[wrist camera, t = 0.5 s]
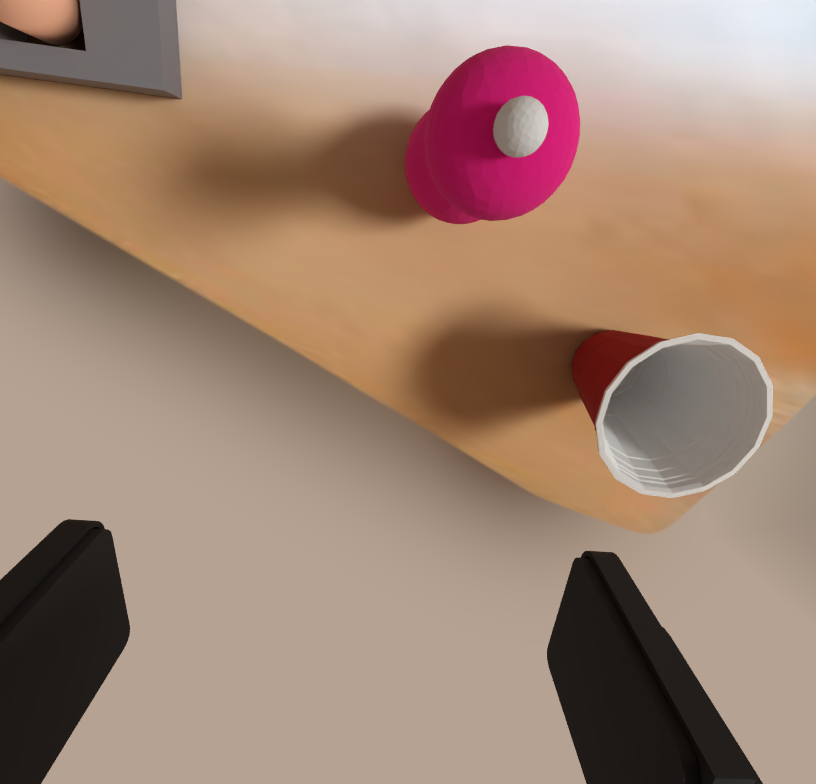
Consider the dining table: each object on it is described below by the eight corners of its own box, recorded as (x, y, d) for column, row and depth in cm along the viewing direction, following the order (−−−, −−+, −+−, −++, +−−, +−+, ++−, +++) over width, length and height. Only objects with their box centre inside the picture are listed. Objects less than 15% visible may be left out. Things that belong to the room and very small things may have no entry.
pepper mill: (416, 232, 34) (438, 266, 16) (393, 125, 32) (387, 15, 13) (511, 208, 34) (647, 215, 15) (496, 97, 31) (639, -57, 13)
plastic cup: (681, 293, 36) (804, 332, 25) (657, 414, 41) (755, 494, 30) (546, 299, 36) (610, 341, 25) (536, 420, 41) (588, 501, 30)
